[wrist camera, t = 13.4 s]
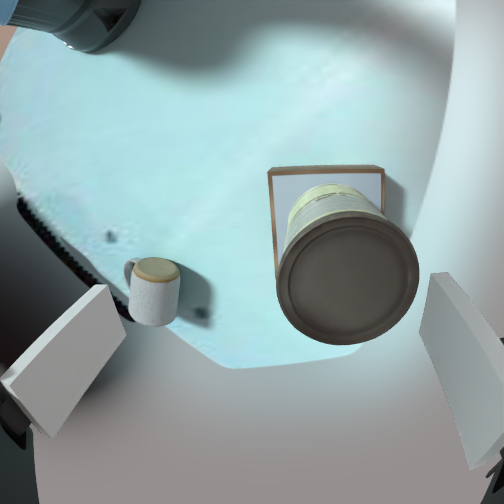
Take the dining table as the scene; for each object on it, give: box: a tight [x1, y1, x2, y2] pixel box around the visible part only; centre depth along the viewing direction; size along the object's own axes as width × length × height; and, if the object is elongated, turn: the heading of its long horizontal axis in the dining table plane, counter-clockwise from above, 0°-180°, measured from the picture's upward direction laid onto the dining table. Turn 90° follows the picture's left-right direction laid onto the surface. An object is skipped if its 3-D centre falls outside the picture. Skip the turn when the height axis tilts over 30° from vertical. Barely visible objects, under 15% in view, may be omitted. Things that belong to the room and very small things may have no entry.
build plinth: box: [267, 165, 385, 278], centre depth 35 cm, size 13×13×5 cm
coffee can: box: [276, 183, 419, 345], centre depth 26 cm, size 10×10×14 cm
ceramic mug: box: [124, 257, 180, 327], centre depth 41 cm, size 11×8×8 cm
